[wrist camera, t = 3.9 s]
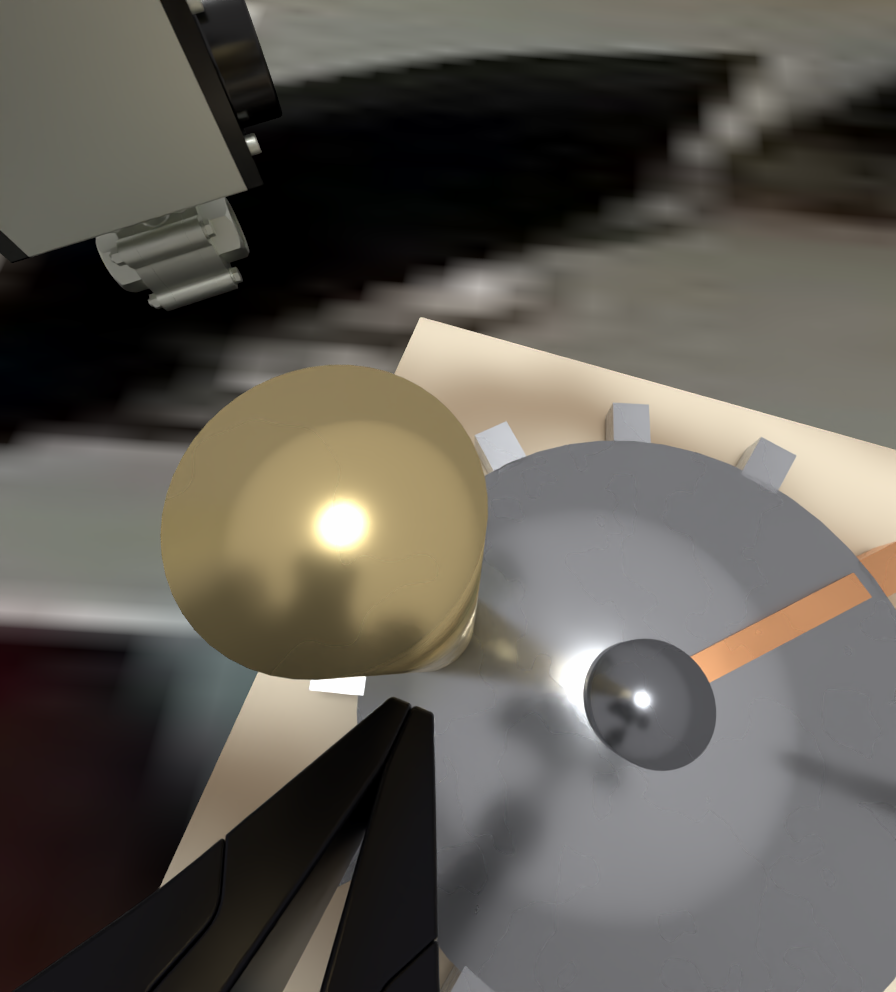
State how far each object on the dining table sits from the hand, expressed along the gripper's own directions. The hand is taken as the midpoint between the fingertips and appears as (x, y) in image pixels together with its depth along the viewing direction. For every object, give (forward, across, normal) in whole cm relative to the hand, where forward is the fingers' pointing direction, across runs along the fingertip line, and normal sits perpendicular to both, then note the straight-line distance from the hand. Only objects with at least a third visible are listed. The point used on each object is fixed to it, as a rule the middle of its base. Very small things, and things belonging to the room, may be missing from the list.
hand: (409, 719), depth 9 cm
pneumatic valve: (+15, +17, -3) cm, 22 cm away
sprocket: (+6, -6, +3) cm, 9 cm away
